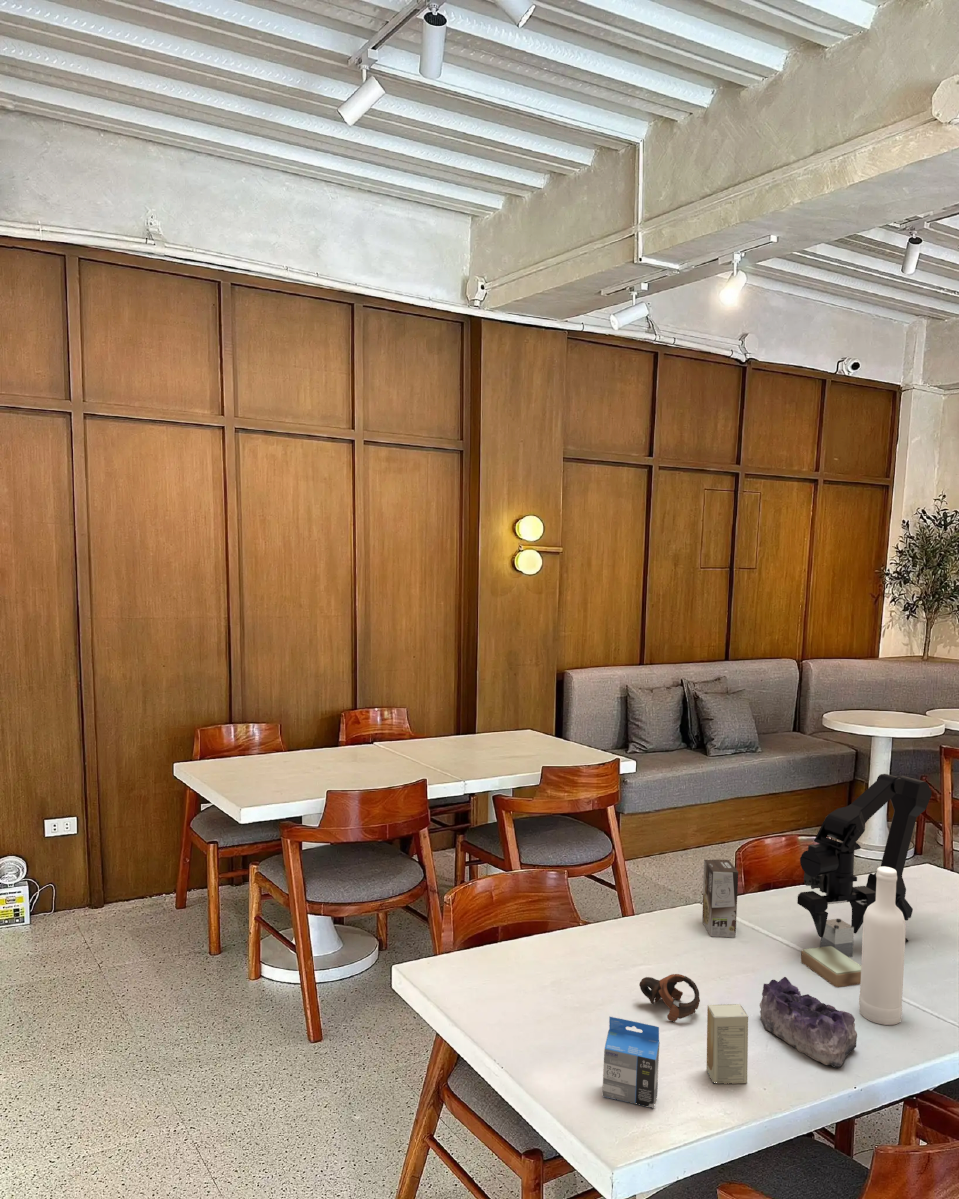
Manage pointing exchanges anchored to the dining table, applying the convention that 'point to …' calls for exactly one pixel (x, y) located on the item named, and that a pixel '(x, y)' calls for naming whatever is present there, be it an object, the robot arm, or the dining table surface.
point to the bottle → (883, 954)
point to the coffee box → (720, 898)
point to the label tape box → (631, 1062)
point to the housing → (838, 936)
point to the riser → (832, 966)
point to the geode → (807, 1023)
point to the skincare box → (727, 1043)
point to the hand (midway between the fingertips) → (837, 934)
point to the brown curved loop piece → (670, 994)
